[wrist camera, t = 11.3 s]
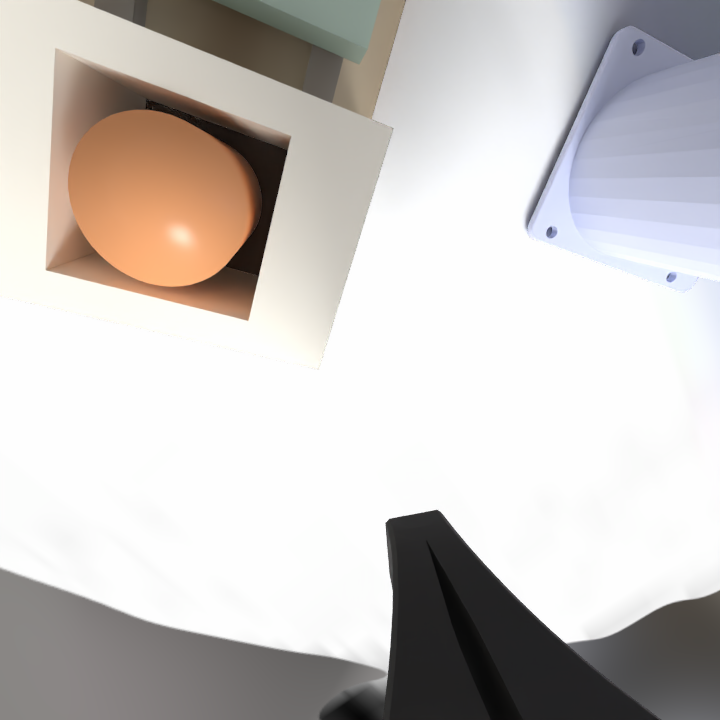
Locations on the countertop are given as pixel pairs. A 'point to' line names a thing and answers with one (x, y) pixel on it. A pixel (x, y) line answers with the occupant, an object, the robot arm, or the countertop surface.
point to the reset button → (162, 197)
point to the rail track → (271, 46)
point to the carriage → (318, 21)
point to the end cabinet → (200, 99)
